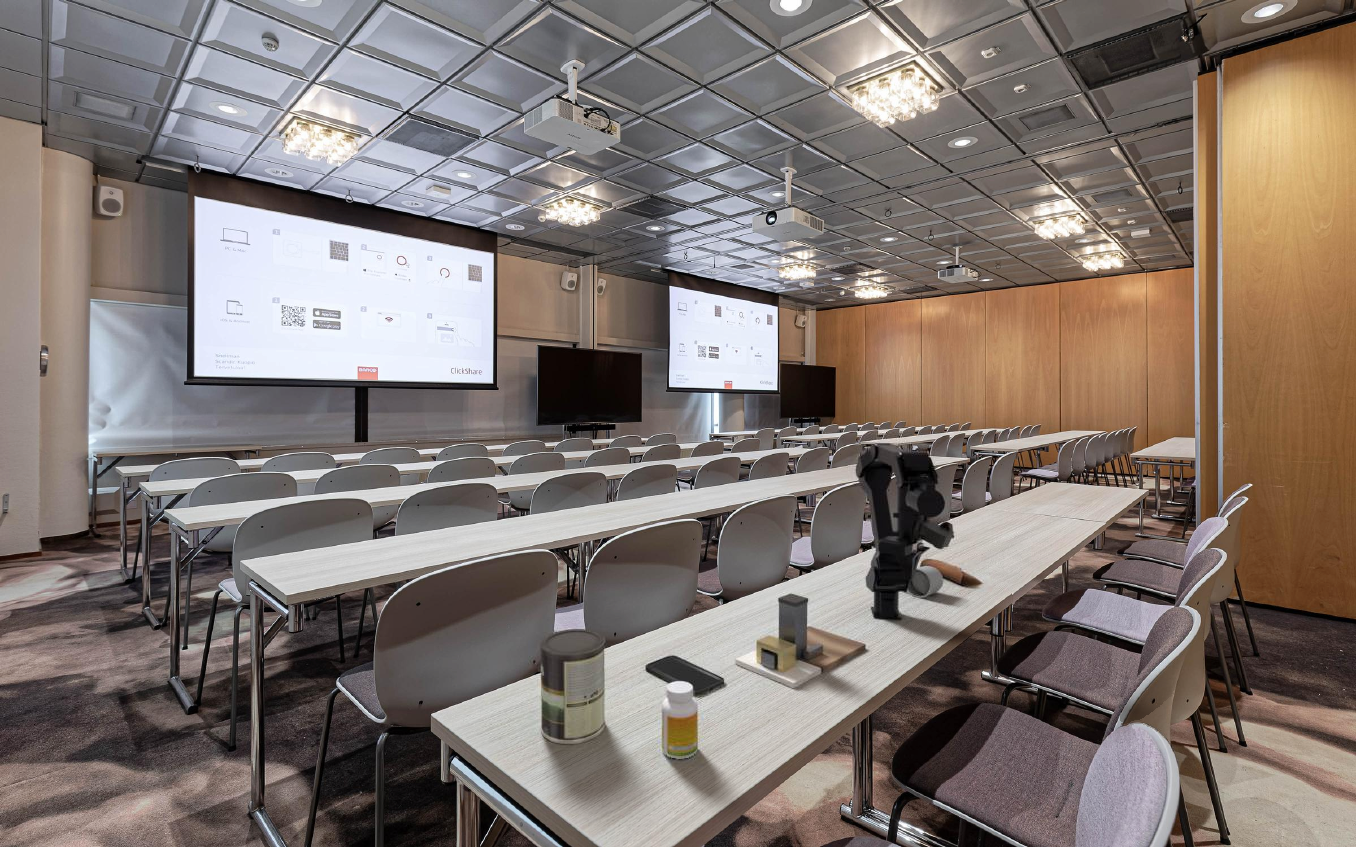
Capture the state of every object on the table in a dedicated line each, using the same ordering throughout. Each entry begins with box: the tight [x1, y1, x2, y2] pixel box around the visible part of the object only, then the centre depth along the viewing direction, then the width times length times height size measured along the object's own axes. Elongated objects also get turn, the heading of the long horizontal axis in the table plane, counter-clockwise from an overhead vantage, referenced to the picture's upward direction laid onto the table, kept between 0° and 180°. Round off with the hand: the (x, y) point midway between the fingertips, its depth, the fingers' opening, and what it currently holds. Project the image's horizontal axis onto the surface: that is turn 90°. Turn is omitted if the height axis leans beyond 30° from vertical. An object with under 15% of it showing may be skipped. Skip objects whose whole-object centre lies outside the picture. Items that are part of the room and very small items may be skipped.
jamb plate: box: [734, 649, 822, 689], centre depth 120 cm, size 9×14×1 cm, turn 44°
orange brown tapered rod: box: [919, 558, 984, 587], centre depth 181 cm, size 18×7×7 cm
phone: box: [644, 654, 725, 697], centre depth 117 cm, size 8×1×15 cm
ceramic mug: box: [907, 566, 944, 599], centre depth 166 cm, size 11×8×8 cm
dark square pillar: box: [762, 592, 809, 669], centre depth 121 cm, size 10×4×12 cm, turn 134°
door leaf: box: [798, 625, 867, 673], centre depth 129 cm, size 16×14×1 cm
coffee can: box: [539, 628, 606, 745], centre depth 99 cm, size 10×10×14 cm
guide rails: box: [804, 644, 823, 661], centre depth 125 cm, size 5×7×2 cm
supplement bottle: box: [661, 681, 699, 760], centre depth 92 cm, size 5×5×10 cm
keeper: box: [755, 634, 796, 673], centre depth 119 cm, size 4×6×4 cm, turn 43°
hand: (909, 579), depth 135 cm, fingers closed
